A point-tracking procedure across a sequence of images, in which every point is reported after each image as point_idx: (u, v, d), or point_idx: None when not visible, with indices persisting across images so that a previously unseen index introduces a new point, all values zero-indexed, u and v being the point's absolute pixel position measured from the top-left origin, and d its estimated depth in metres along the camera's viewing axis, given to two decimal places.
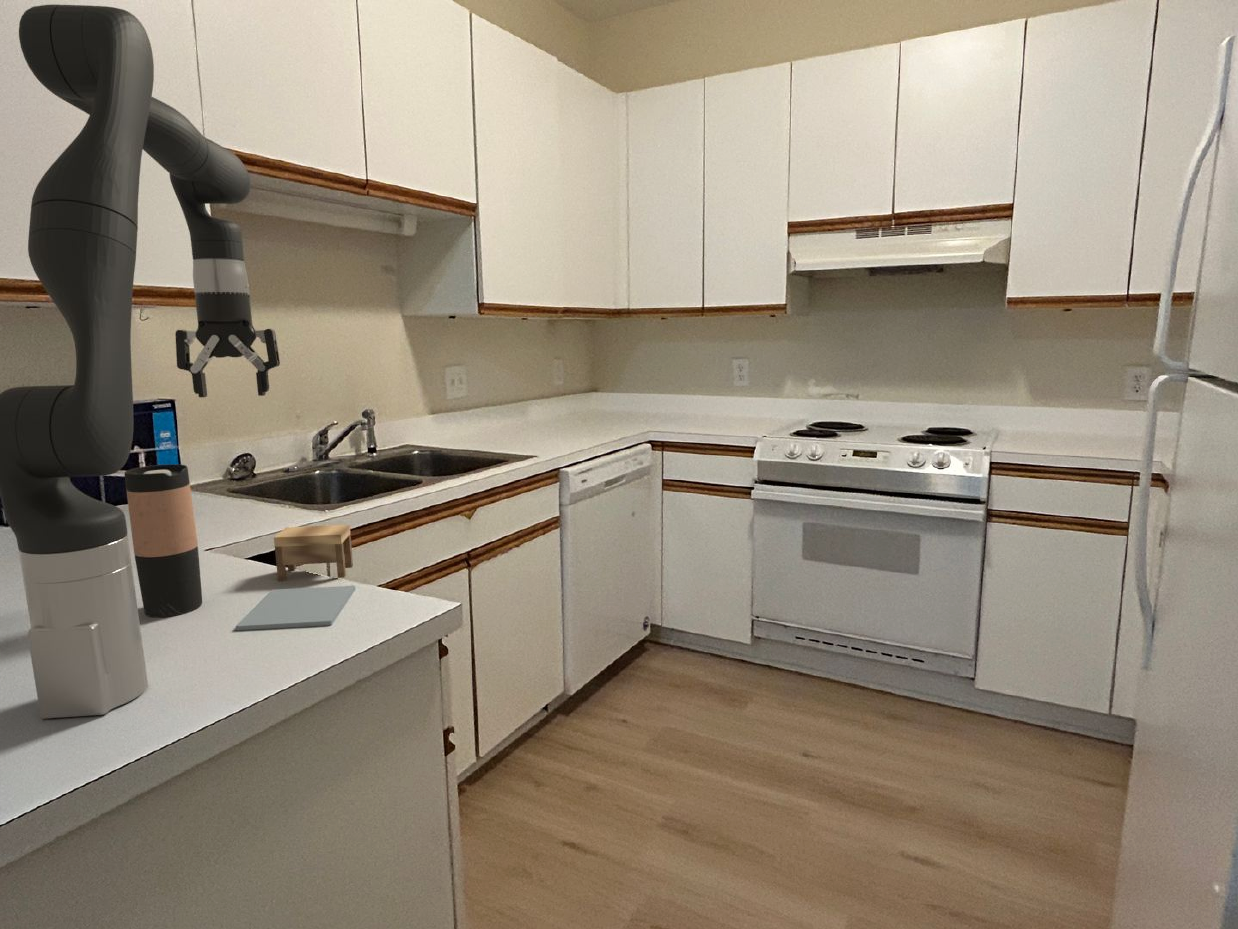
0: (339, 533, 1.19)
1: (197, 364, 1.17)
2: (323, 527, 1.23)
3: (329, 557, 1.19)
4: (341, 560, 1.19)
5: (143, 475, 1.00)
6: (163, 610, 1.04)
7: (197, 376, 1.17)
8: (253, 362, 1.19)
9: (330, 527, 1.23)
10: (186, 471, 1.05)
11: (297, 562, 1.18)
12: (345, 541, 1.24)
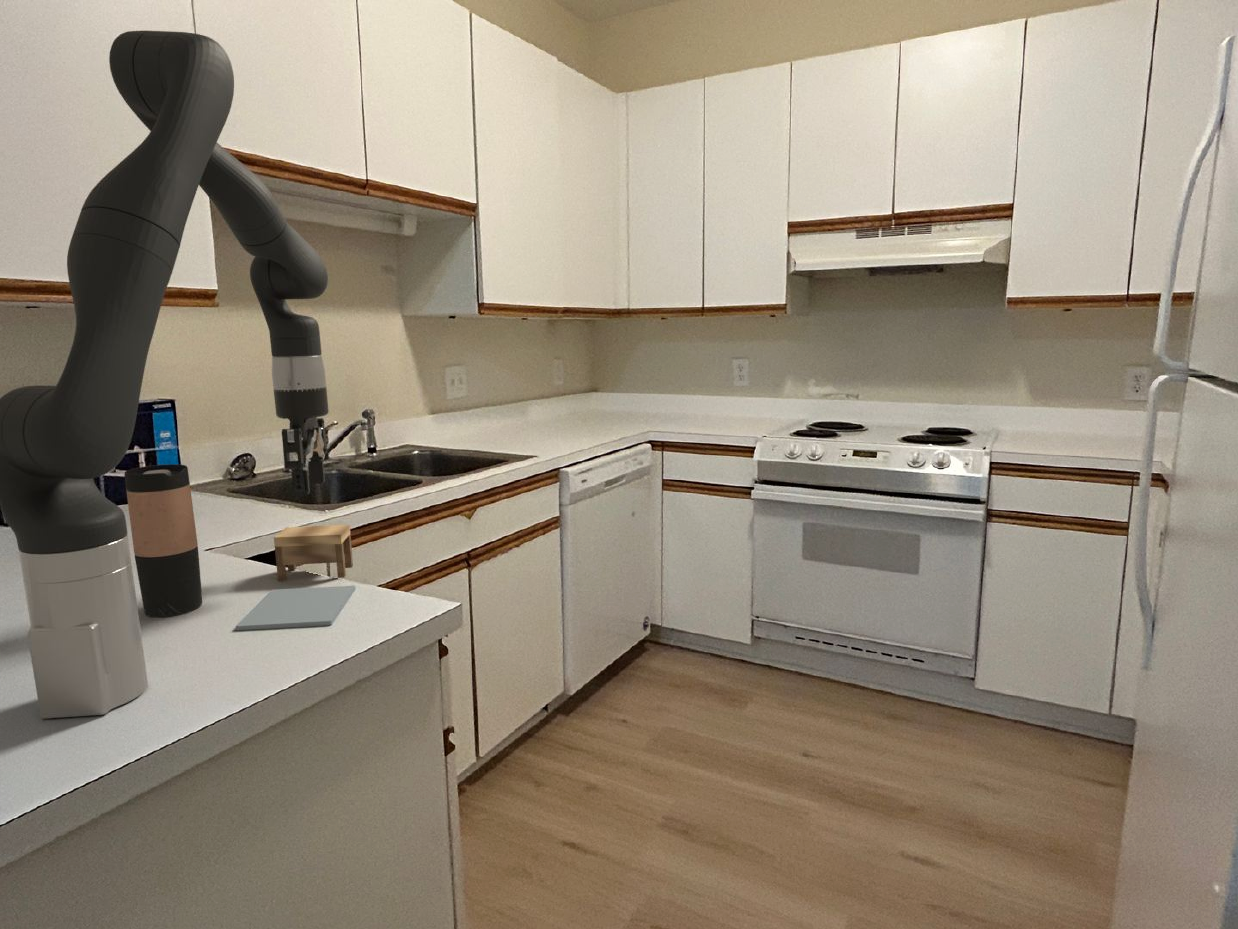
0: (339, 533, 1.19)
1: (307, 461, 1.14)
2: (323, 527, 1.23)
3: (329, 557, 1.19)
4: (341, 560, 1.19)
5: (143, 475, 1.00)
6: (163, 610, 1.04)
7: (307, 473, 1.15)
8: (321, 451, 1.22)
9: (330, 527, 1.23)
10: (186, 471, 1.05)
11: (297, 562, 1.18)
12: (345, 541, 1.24)
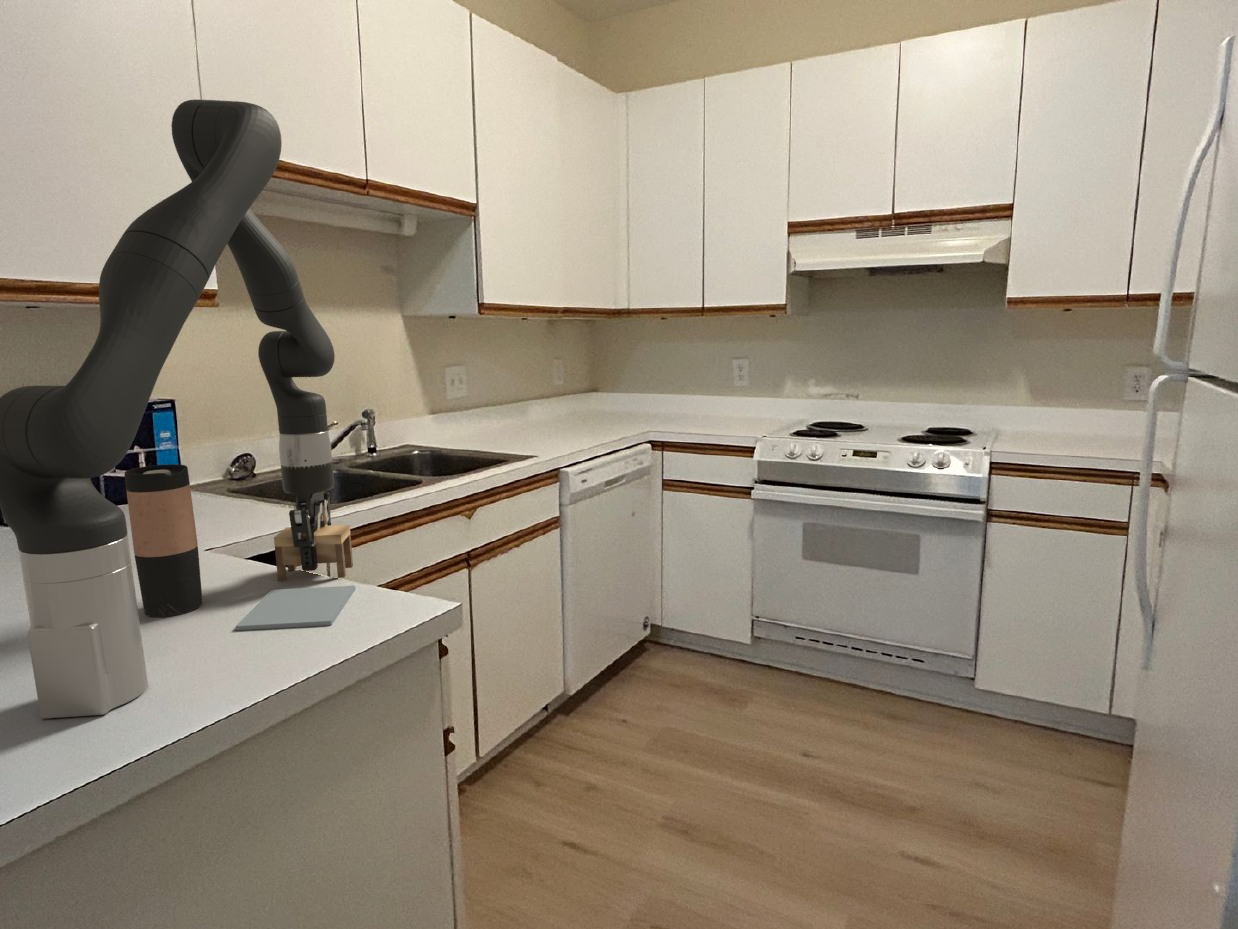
0: (339, 533, 1.19)
1: (314, 537, 1.17)
2: (323, 527, 1.23)
3: (329, 557, 1.19)
4: (341, 560, 1.19)
5: (143, 475, 1.00)
6: (163, 610, 1.04)
7: (315, 549, 1.18)
8: (325, 525, 1.24)
9: (330, 527, 1.23)
10: (186, 471, 1.05)
11: (298, 562, 1.18)
12: (345, 541, 1.24)
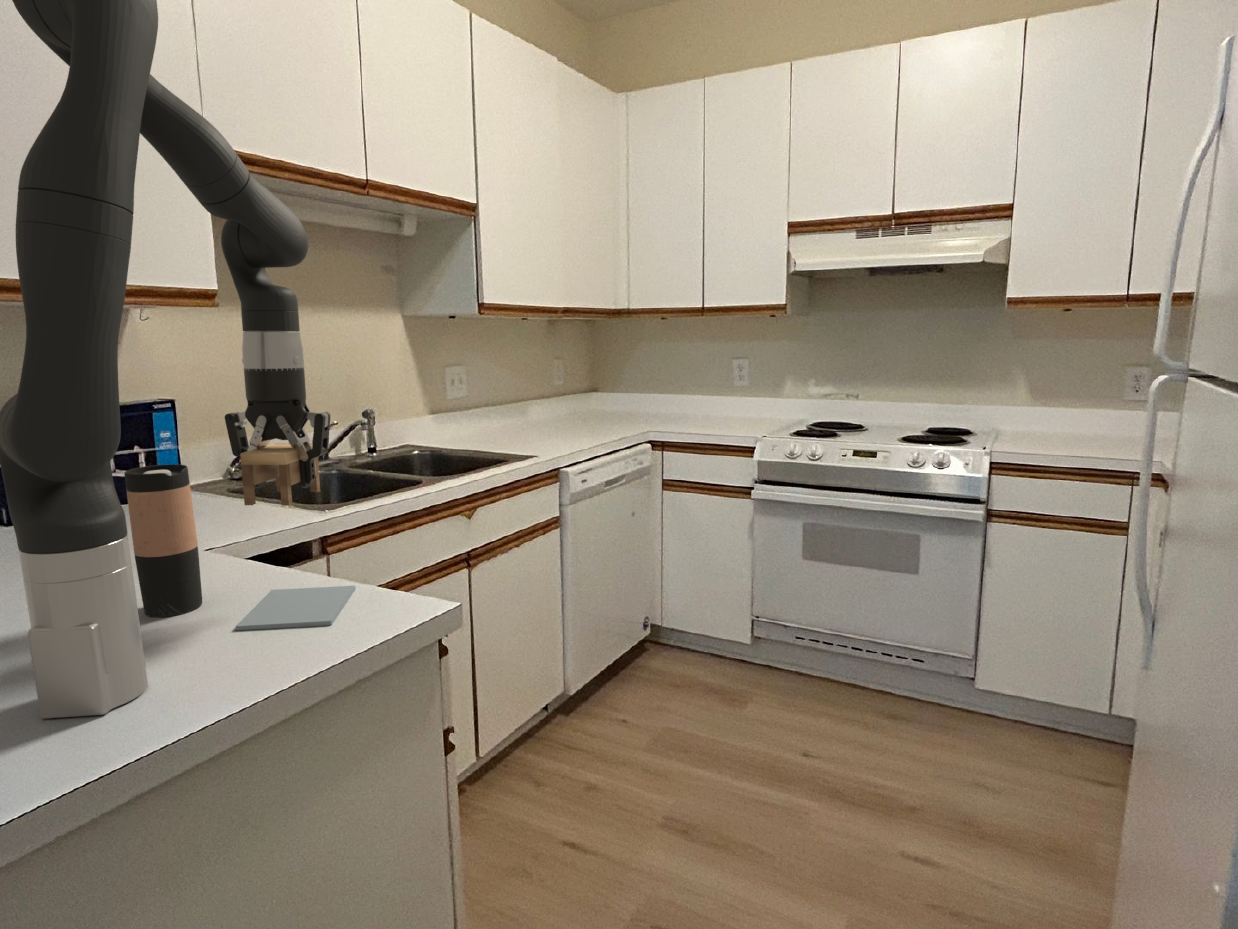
0: (311, 443, 1.10)
1: None
2: (271, 446, 1.06)
3: None
4: (318, 472, 1.10)
5: (143, 475, 1.00)
6: (163, 610, 1.04)
7: None
8: (263, 446, 1.06)
9: (275, 445, 1.07)
10: (186, 471, 1.05)
11: (298, 480, 1.04)
12: None
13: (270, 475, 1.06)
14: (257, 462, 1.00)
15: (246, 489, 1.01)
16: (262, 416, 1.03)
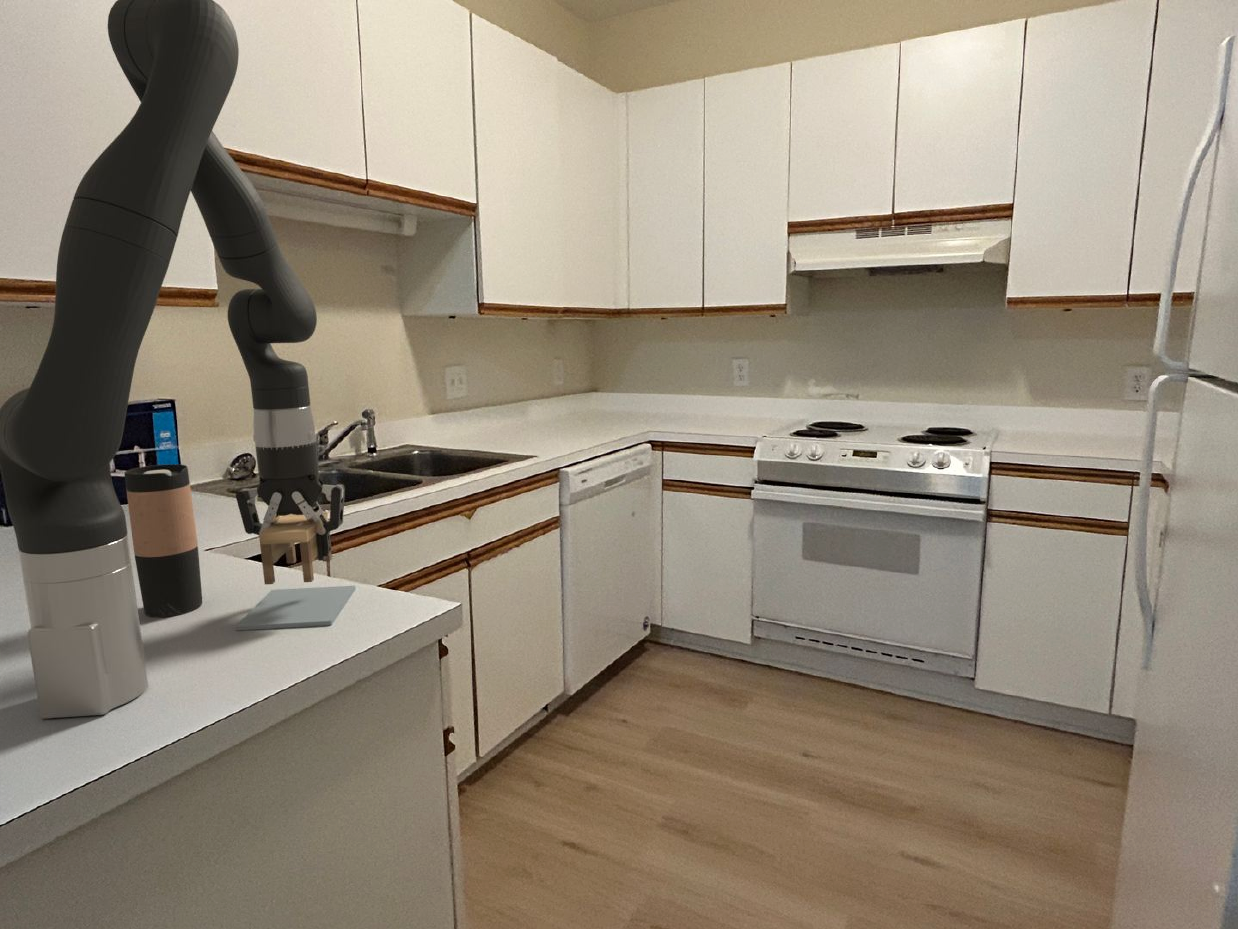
0: None
1: None
2: (283, 520, 1.05)
3: None
4: None
5: (143, 475, 1.00)
6: (163, 610, 1.04)
7: None
8: (275, 521, 1.05)
9: (286, 518, 1.06)
10: (186, 471, 1.05)
11: (316, 554, 1.04)
12: None
13: (283, 550, 1.05)
14: (277, 541, 0.99)
15: (266, 568, 1.00)
16: (277, 493, 1.01)
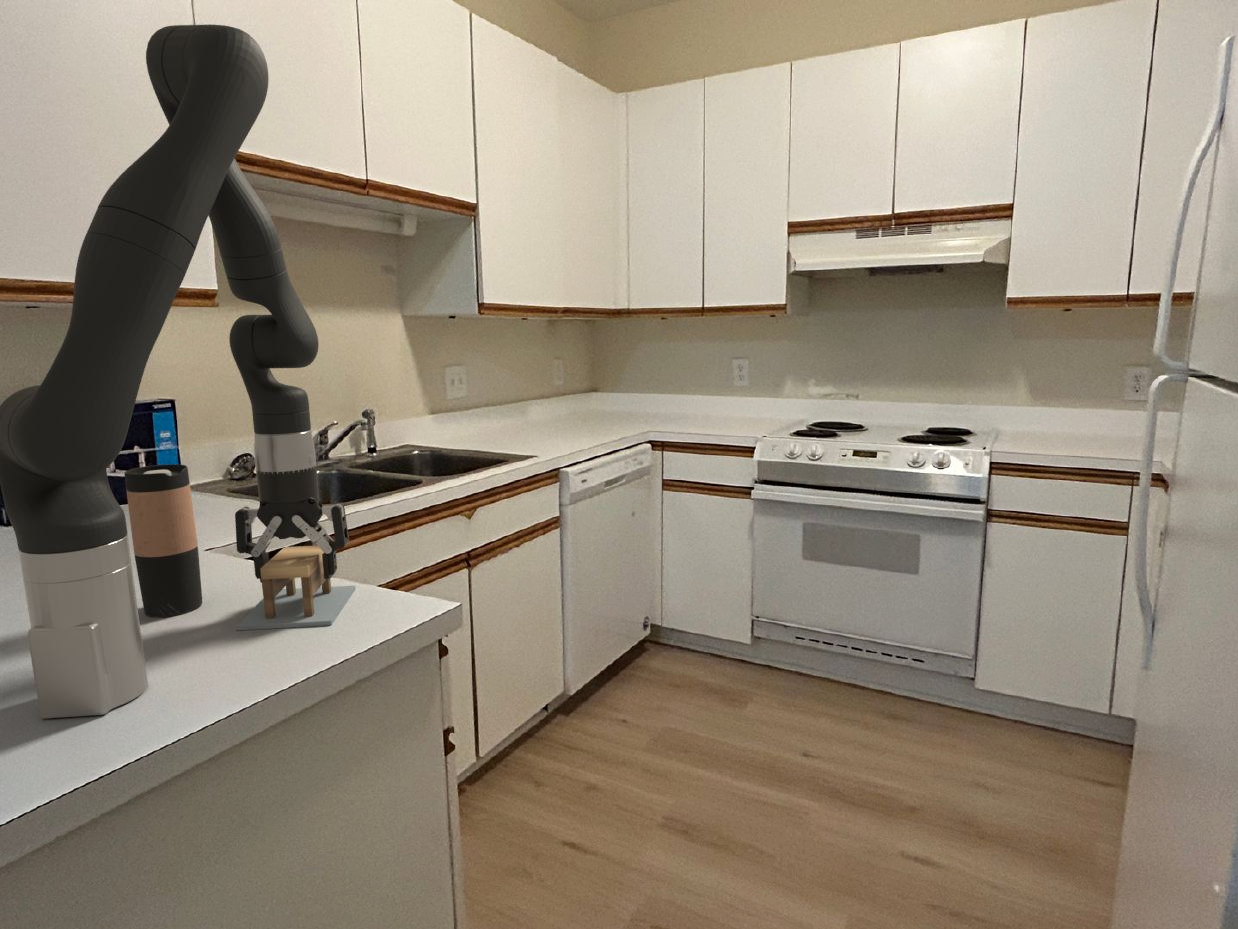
0: None
1: None
2: (283, 554, 1.06)
3: None
4: None
5: (143, 475, 1.00)
6: (163, 610, 1.04)
7: None
8: None
9: (287, 552, 1.07)
10: (186, 471, 1.05)
11: (317, 588, 1.04)
12: None
13: (284, 583, 1.06)
14: (278, 576, 1.00)
15: (267, 603, 1.01)
16: (278, 517, 1.02)
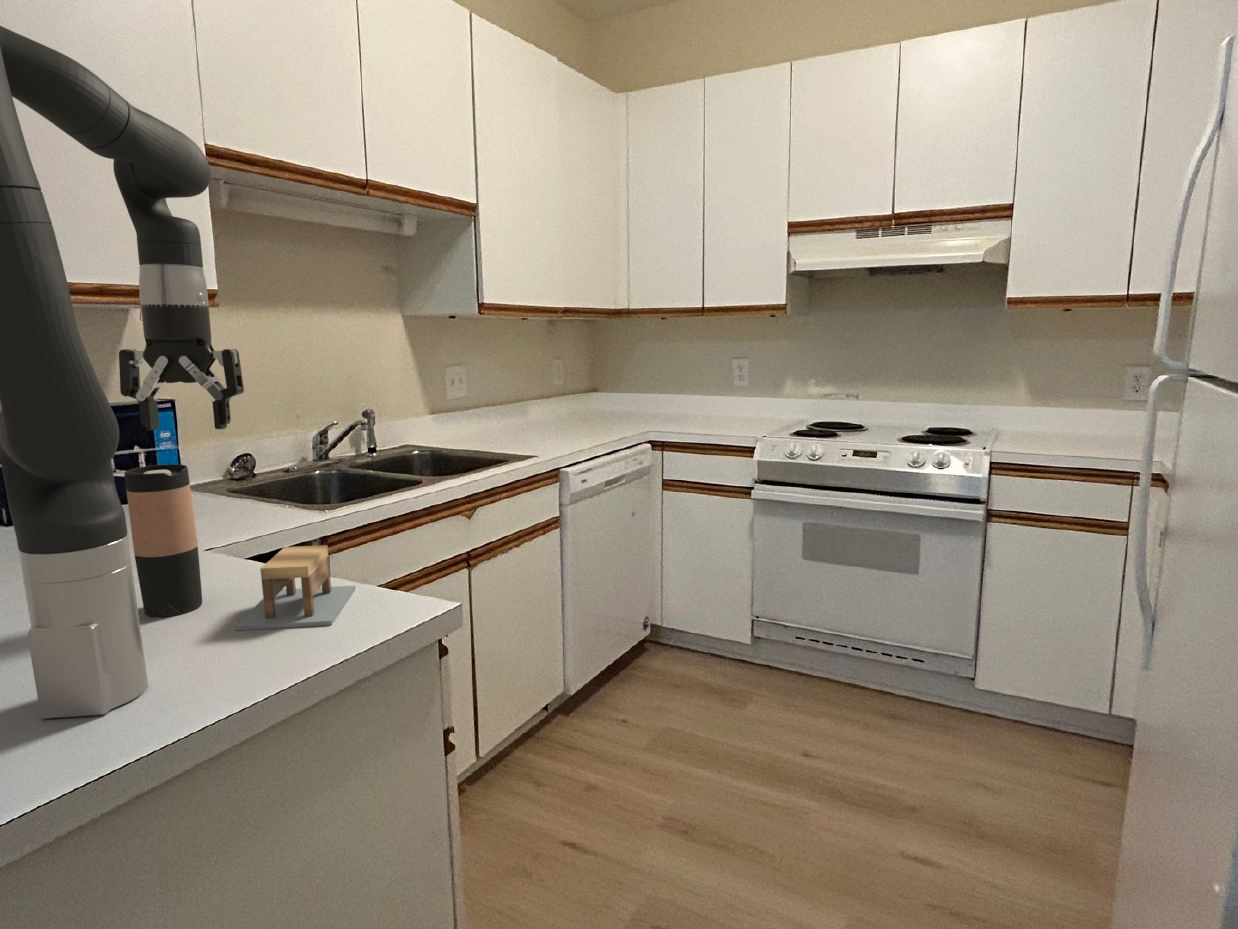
0: (322, 546, 1.10)
1: None
2: (283, 554, 1.06)
3: (325, 573, 1.09)
4: (329, 573, 1.11)
5: (143, 475, 1.00)
6: (163, 610, 1.04)
7: None
8: None
9: (287, 552, 1.07)
10: (186, 471, 1.05)
11: (317, 588, 1.04)
12: None
13: (284, 583, 1.06)
14: (278, 576, 1.00)
15: (267, 603, 1.01)
16: (164, 357, 0.96)
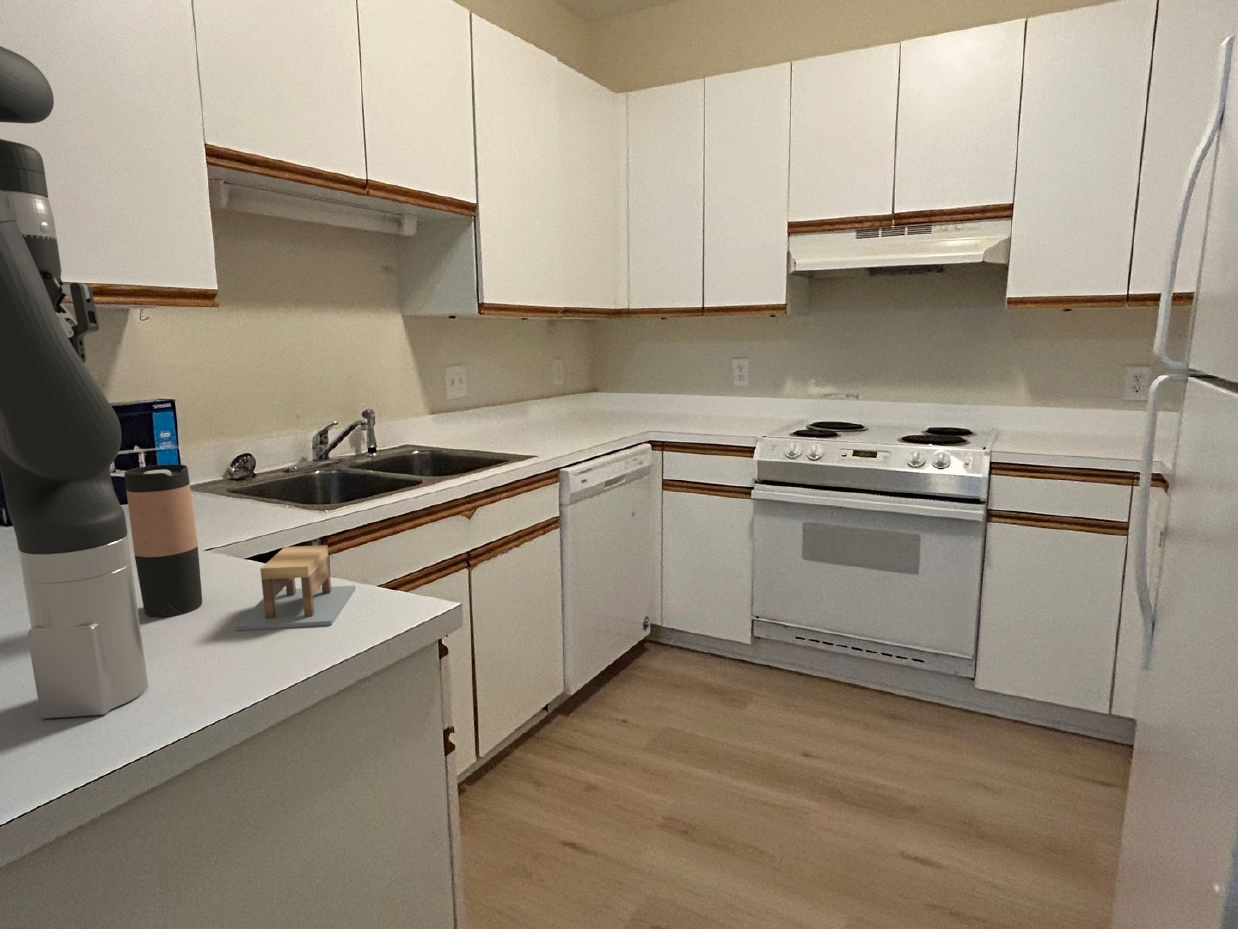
0: (322, 546, 1.10)
1: None
2: (283, 554, 1.06)
3: (325, 573, 1.09)
4: (329, 573, 1.11)
5: (143, 475, 1.00)
6: (163, 610, 1.04)
7: None
8: None
9: (287, 552, 1.07)
10: (186, 471, 1.05)
11: (317, 588, 1.04)
12: None
13: (284, 583, 1.06)
14: (278, 576, 1.00)
15: (267, 603, 1.01)
16: None
